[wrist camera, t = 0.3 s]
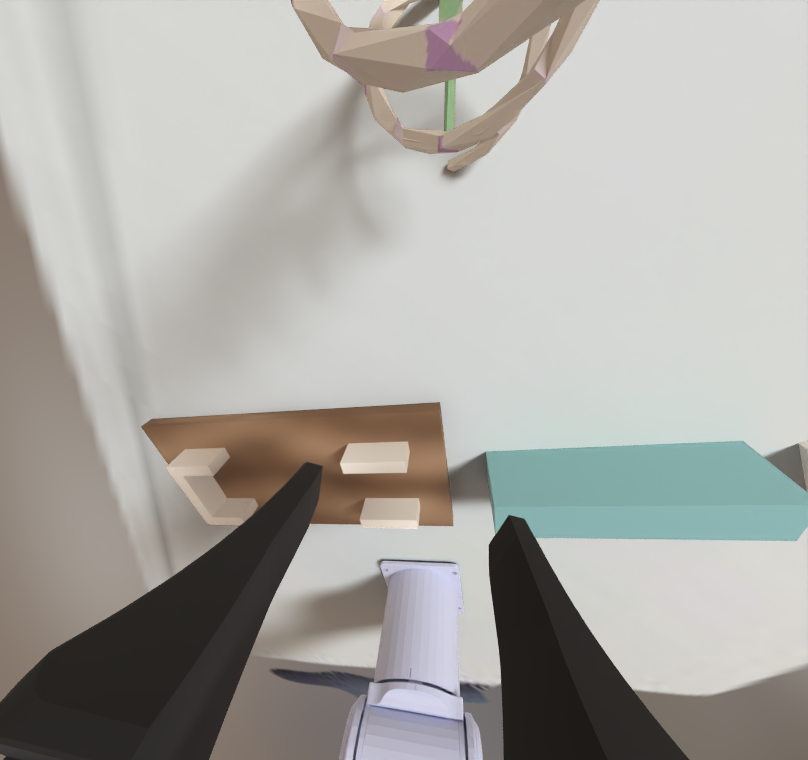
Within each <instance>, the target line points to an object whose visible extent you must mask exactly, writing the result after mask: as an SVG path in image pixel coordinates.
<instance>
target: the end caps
mask: <svg viewBox="0 0 808 760" xmlns="http://www.w3.org/2000/svg"><path fill="white" fill-rule="evenodd" d="M409 454H410V450H409V445H408V441H407V442H378V443H349V444H348V445H347V448H346V450H345V452H344V455H343V457H342V460H341V462H340V465H341V468H342V471H343V474H366V473H407V467H408V461H409ZM229 458H230V456H229V454H228V452H227V450H226V449H225V448H204V449H185V450H184V451H183V452H181V453H180V454H179V455H178V456H177V457H176V458H175V459H174V460H173V461H172V462H171V463H170V464H168V465H167V466H166V468H167V470H168V471H169V473H170V474H171V475H172V477H173V478H174V479H175V481H176V482H177V483H178V485H179V486H180V487H181V489H182V490H183V492H184V493H185V494H186V496H187V497H188V498H189V500H190V501H191V502H192V504H193V505H194V506H195V508H196V509H197V511H198V512H199V513H200V515H201V516H202V517H203V519H204V520H205V521H206V523H207V524H208V525H241V524H243V523H244V522H245V521H246V520H247V519H248V518H249V517H251V516H252V515H253V513H254V512H255V510H256V509H257V507H258V504H257V502H256V500H255V499H254V498H227V497H226V496H225V494H224V492H223V491H222V489H221V488H220V486H219V485H218V483H217V482H216V480H215V479H214V477H213V476H214V475H215V474H216V473H217V472H218V471H219V469H220V468H221V467H222V466H223V465H224V464H225V463H226V461H227V460H228V459H229ZM419 515H420V502H419V498H365V502H364V506H363V509H362V513H361V516H360V522H361V525H362V528H403V529H418V526H419Z"/></svg>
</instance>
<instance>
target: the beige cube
mask: <svg viewBox="0 0 808 760" xmlns="http://www.w3.org/2000/svg"><path fill="white" fill-rule="evenodd" d="M798 444H799V450H800V456H801V461H802V467H803V473H804V479H805V484H806V490H807V492H808V441H804V442H801V443H798Z"/></svg>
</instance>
